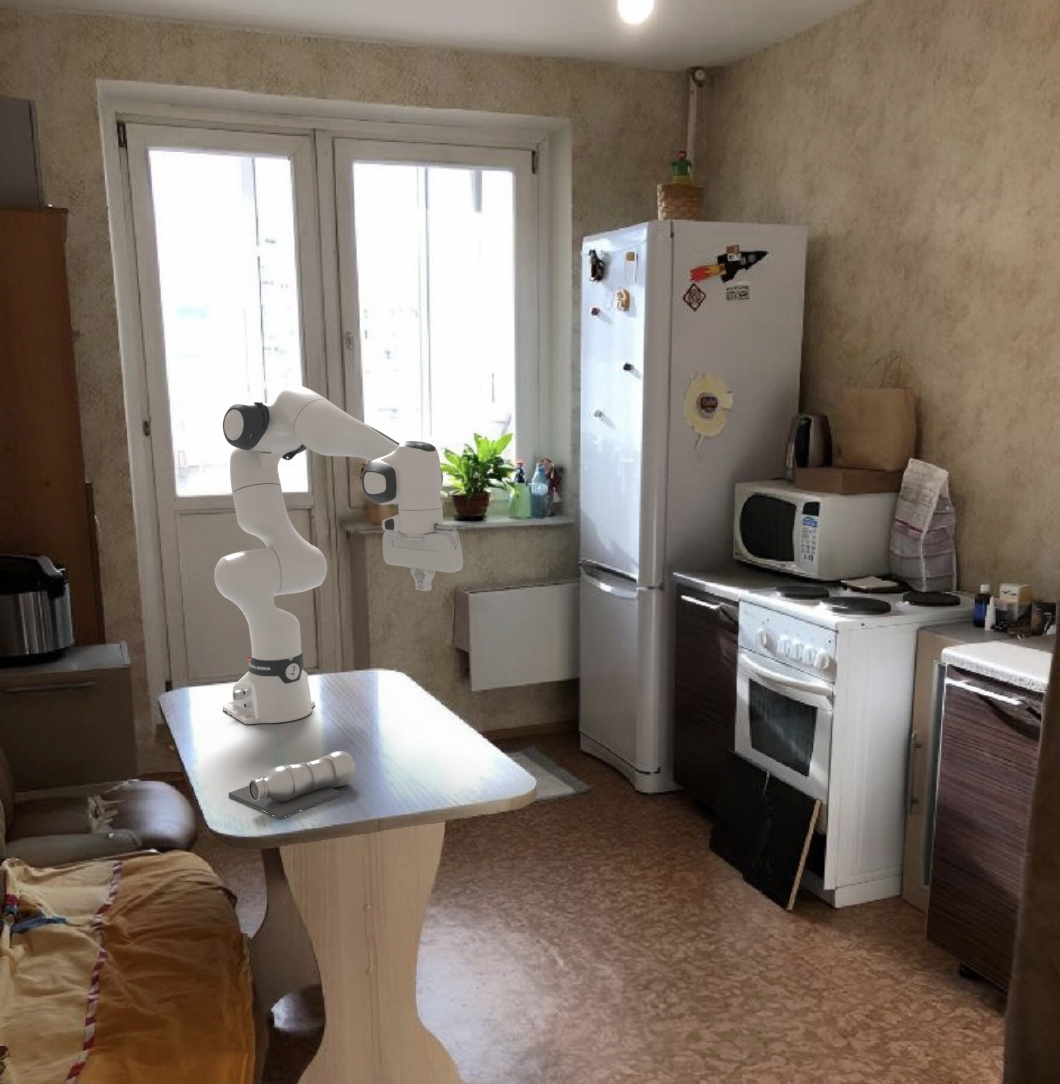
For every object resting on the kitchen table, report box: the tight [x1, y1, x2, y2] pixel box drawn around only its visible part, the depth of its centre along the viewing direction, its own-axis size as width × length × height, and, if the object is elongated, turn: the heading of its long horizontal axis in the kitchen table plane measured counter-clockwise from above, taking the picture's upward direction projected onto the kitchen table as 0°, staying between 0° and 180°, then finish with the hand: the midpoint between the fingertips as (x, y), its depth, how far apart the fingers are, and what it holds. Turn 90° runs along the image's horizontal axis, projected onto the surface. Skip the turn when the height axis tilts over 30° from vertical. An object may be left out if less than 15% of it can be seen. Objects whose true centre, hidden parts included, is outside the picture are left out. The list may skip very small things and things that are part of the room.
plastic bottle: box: [248, 750, 357, 802], centre depth 178 cm, size 6×7×20 cm
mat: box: [228, 785, 342, 820], centre depth 179 cm, size 16×13×1 cm
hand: (423, 590), depth 199 cm, fingers closed
